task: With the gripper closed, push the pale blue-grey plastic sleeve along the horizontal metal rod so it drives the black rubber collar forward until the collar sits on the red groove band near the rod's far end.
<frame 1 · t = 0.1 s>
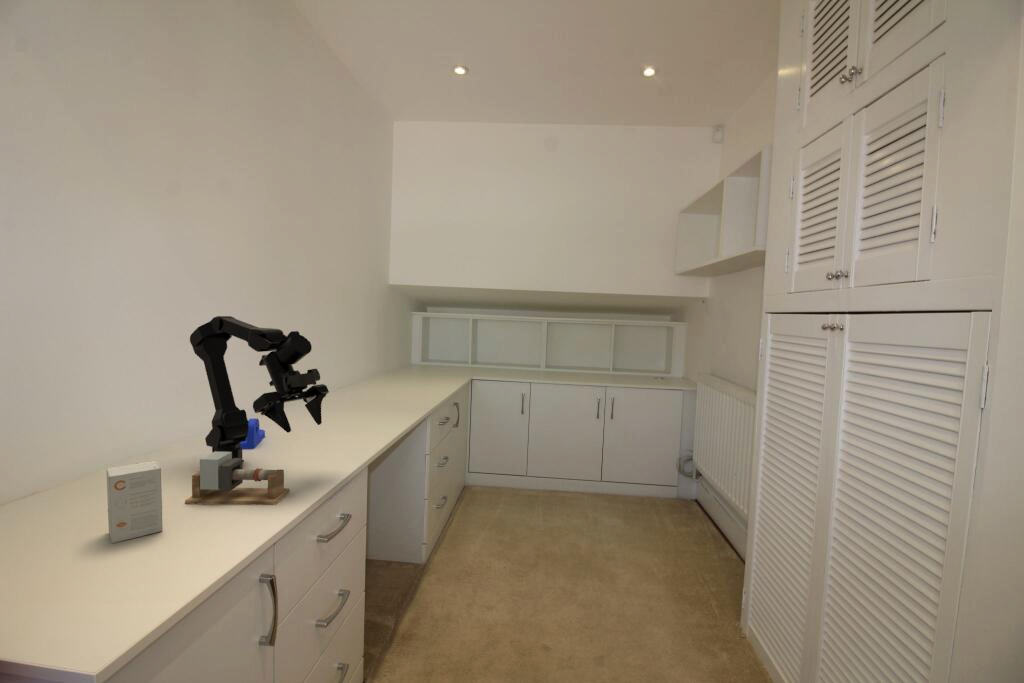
hand: (305, 428, 123), 15 cm above the counter, tool tilted 35°, fingers open, 9 cm apart
sleeve: (216, 470, 115), point 7 cm above the counter, slide at 0.0 cm
small box: (135, 533, 97), on the counter
wooden rail stand: (239, 497, 115), on the counter
bracket: (247, 442, 161), on the counter
collar: (231, 474, 115), point 5 cm above the counter, slide at 0.0 cm
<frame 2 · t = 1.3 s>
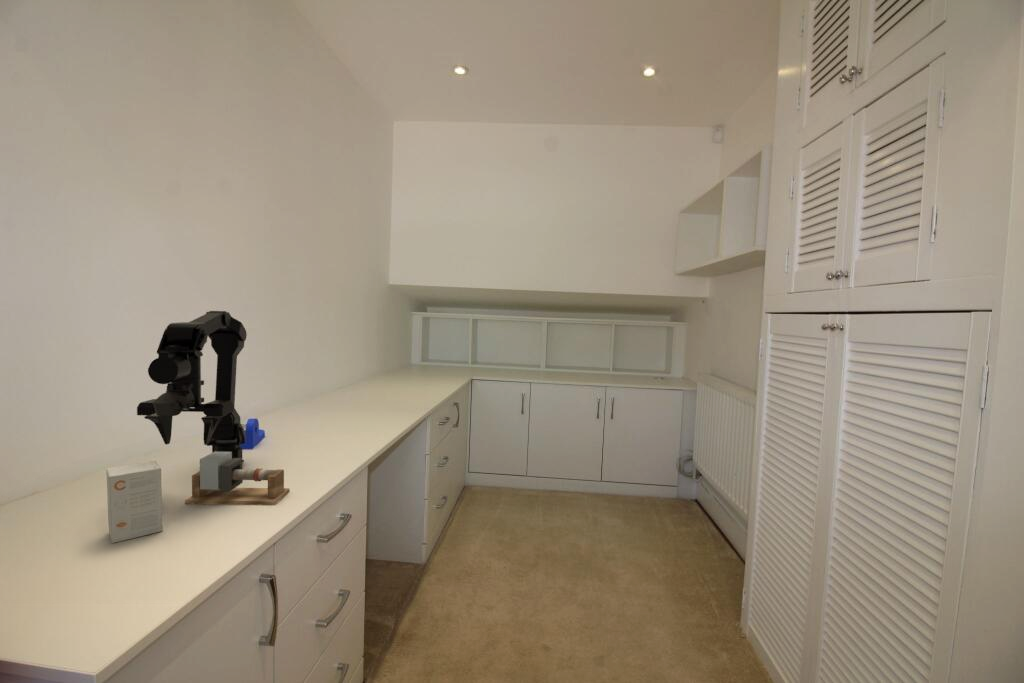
hand: (186, 444, 114), 13 cm above the counter, tool pointing down, fingers open, 8 cm apart
nothing on the counter moved.
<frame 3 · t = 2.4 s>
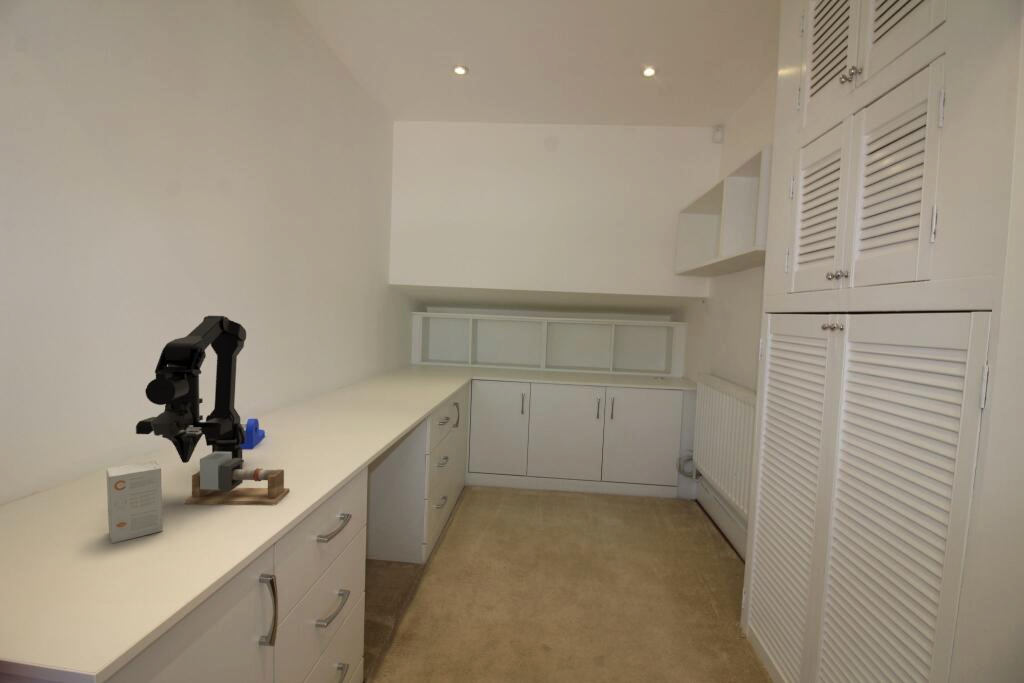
hand: (185, 462, 114), 8 cm above the counter, tool pointing down, fingers closed
nothing on the counter moved.
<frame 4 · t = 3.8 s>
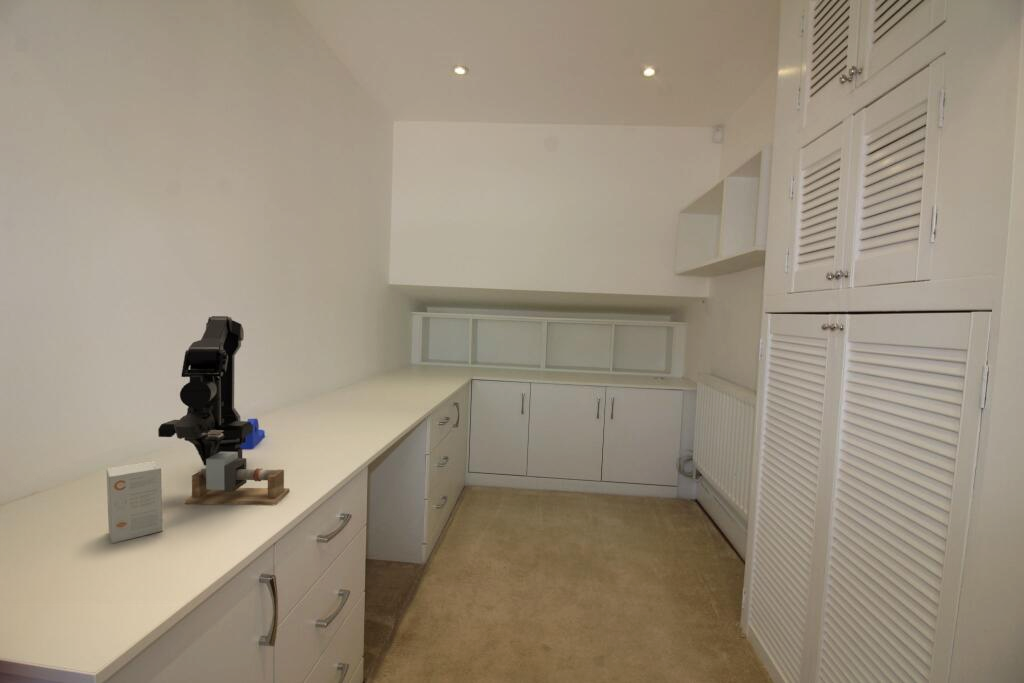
hand: (207, 465, 114), 8 cm above the counter, tool pointing down, fingers closed
sleeve: (222, 470, 115), point 7 cm above the counter, slide at 1.4 cm, touching collar, gripper
collar: (235, 474, 115), point 6 cm above the counter, slide at 0.9 cm, touching sleeve
everything else where it was.
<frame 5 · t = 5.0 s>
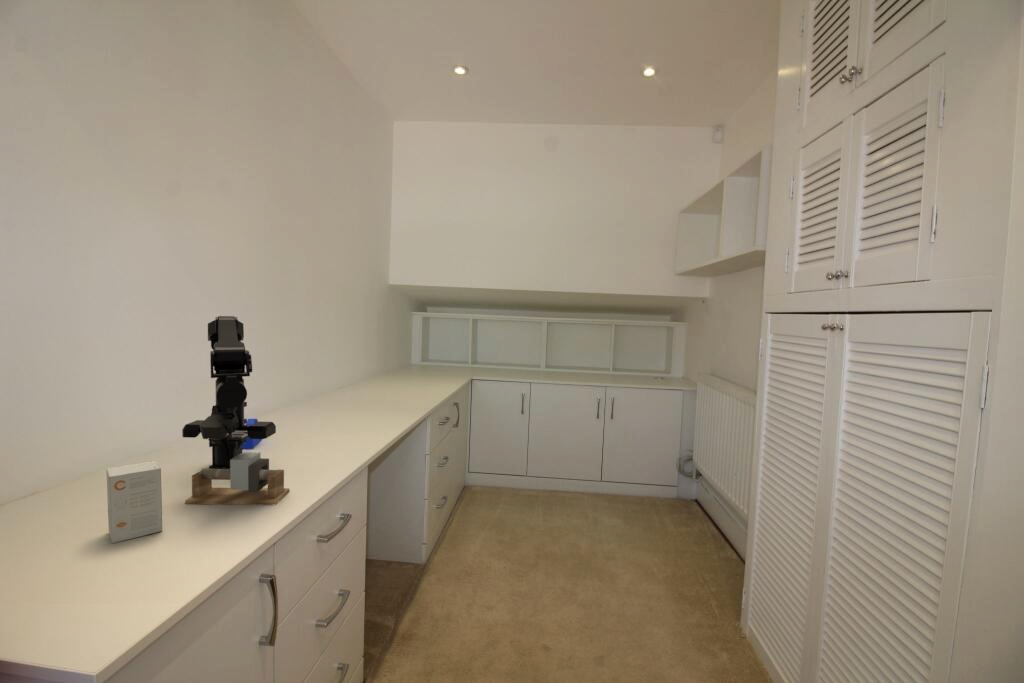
hand: (230, 465, 115), 8 cm above the counter, tool pointing down, fingers closed
sleeve: (245, 470, 115), point 6 cm above the counter, slide at 6.8 cm, touching collar, gripper
collar: (258, 474, 115), point 5 cm above the counter, slide at 6.3 cm, touching sleeve
everything else where it was.
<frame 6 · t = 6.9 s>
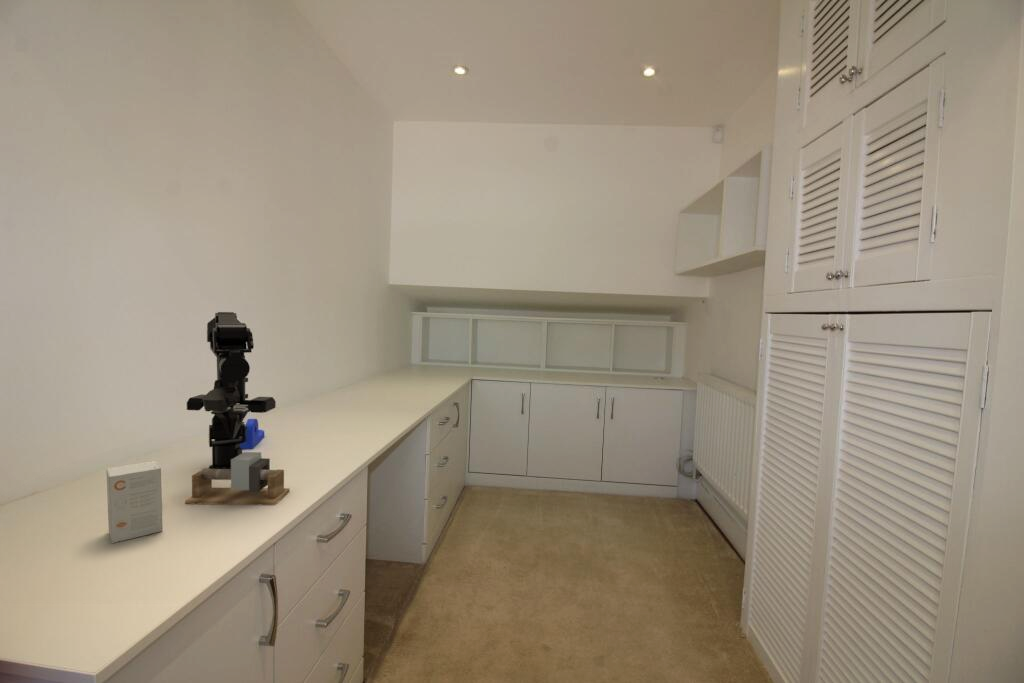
hand: (232, 438, 120), 13 cm above the counter, tool pointing down, fingers closed
sleeve: (246, 470, 115), point 7 cm above the counter, slide at 6.9 cm, touching collar
everything else where it was.
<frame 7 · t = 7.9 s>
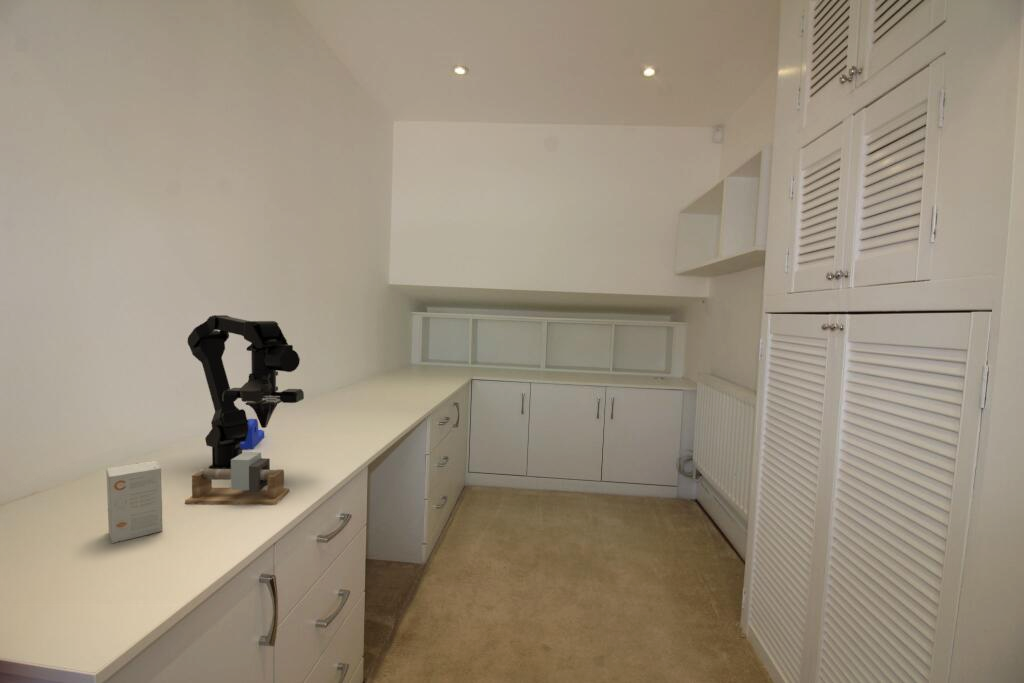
hand: (264, 427, 129), 13 cm above the counter, tool pointing down, fingers closed
nothing on the counter moved.
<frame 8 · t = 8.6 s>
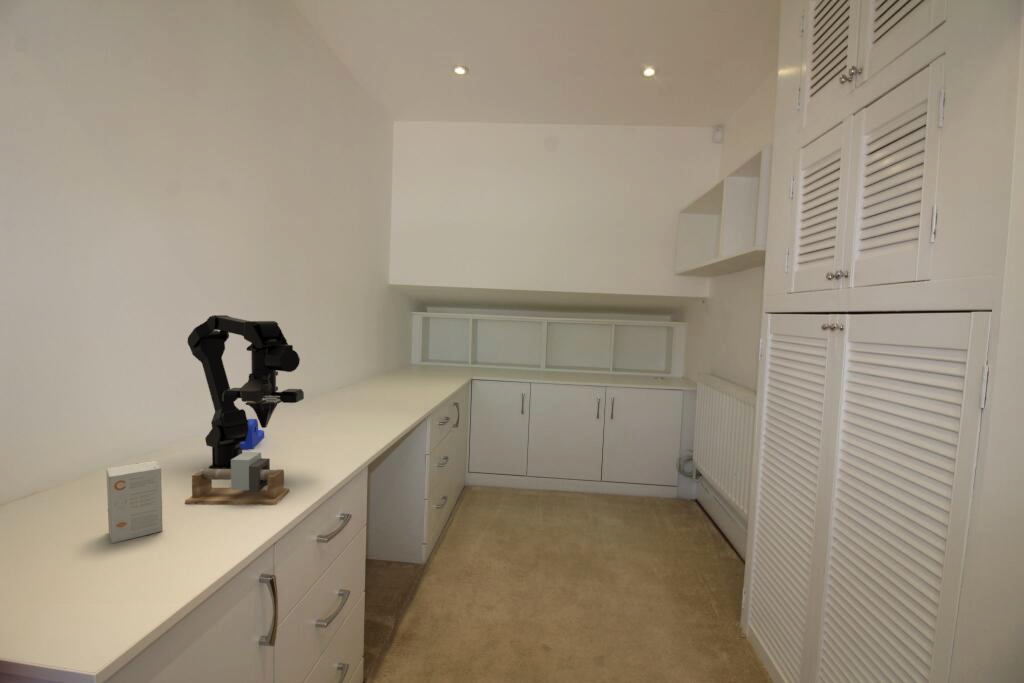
hand: (264, 427, 129), 13 cm above the counter, tool pointing down, fingers closed
nothing on the counter moved.
at the end: collar slide at 6.4 cm; sleeve slide at 6.9 cm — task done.
